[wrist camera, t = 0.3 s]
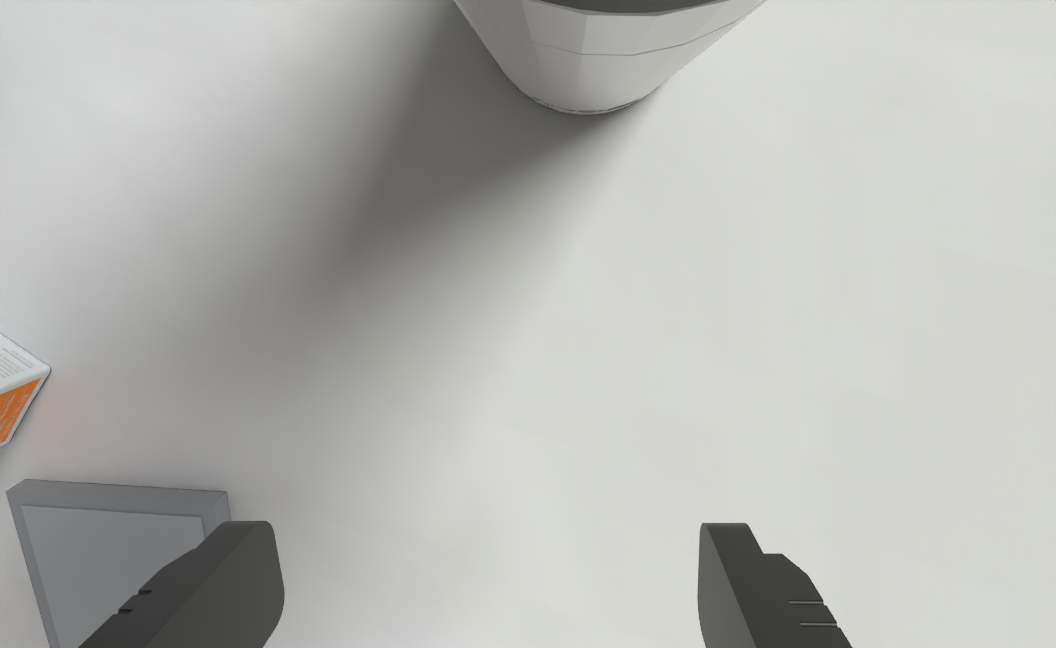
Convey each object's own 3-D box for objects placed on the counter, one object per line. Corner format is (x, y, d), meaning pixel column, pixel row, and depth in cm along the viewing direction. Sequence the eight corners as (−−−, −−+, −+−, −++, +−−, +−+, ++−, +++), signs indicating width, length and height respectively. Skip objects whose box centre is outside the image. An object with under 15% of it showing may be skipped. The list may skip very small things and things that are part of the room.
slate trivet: (25, 479, 32) (3, 492, 30) (226, 492, 31) (212, 505, 30) (70, 643, 35) (52, 661, 34) (251, 657, 34) (239, 676, 33)
